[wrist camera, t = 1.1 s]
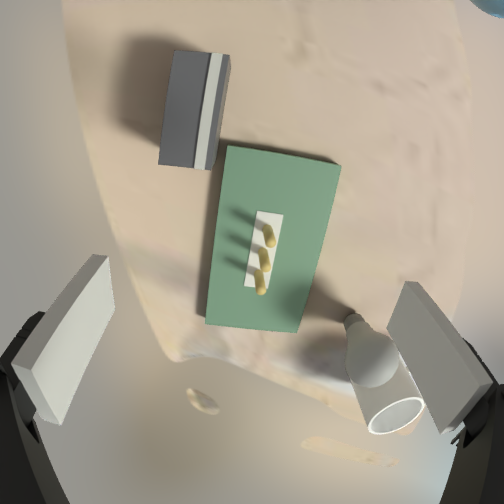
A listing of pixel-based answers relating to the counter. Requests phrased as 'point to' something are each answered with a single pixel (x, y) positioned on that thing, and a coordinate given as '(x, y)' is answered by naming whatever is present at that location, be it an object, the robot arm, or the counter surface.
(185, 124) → the block
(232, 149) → the board
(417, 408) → the cup
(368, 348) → the lightbulb
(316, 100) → the counter surface
